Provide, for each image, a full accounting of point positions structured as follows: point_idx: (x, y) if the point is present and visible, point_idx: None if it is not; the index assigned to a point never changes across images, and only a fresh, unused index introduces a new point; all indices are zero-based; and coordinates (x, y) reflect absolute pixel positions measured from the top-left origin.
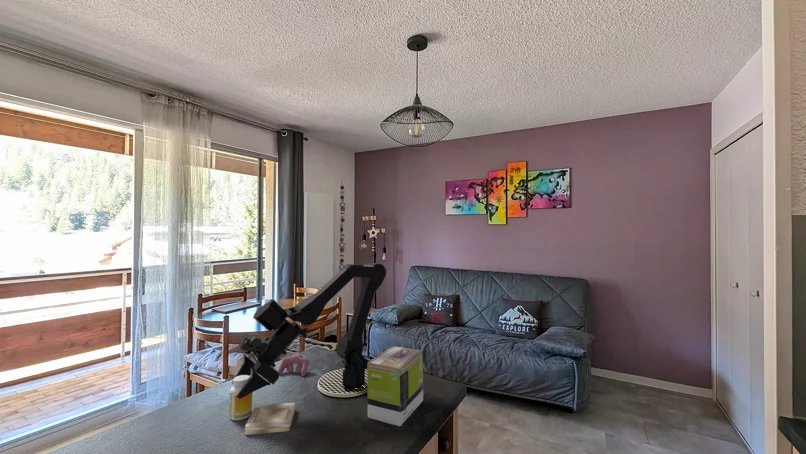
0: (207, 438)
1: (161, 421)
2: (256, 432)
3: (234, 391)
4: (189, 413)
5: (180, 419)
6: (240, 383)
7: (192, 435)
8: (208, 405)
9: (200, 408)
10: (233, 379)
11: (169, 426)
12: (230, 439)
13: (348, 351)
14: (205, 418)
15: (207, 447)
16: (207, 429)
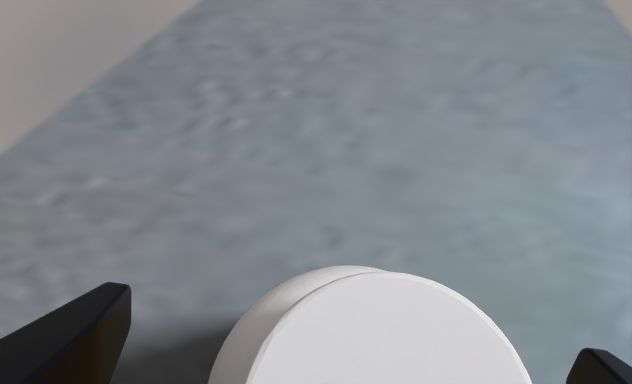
0: (155, 137)
1: (527, 10)
2: None
3: (274, 293)
4: (551, 128)
5: (497, 79)
6: (247, 366)
7: (257, 86)
8: (612, 242)
9: (590, 192)
10: (406, 278)
11: (445, 26)
12: (21, 239)
13: None
14: (426, 185)
15: (51, 115)
16: (268, 162)
